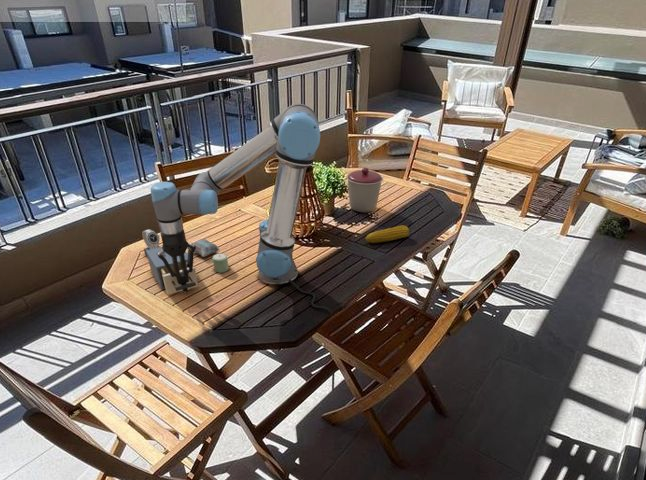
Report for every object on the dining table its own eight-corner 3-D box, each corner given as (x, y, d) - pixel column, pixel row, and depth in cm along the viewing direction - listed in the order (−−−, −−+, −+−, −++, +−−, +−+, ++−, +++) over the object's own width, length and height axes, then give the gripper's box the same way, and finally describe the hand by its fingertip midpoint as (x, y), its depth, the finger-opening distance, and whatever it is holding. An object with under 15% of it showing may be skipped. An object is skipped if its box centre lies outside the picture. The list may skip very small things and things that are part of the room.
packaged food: (203, 261, 182) (201, 250, 180) (186, 251, 189) (184, 241, 186) (221, 254, 188) (219, 243, 185) (204, 245, 194) (202, 234, 191)
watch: (153, 260, 182) (147, 236, 176) (143, 254, 186) (136, 230, 180) (166, 255, 186) (160, 231, 179) (155, 249, 190) (149, 225, 183)
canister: (381, 216, 222) (385, 174, 209) (345, 215, 222) (346, 173, 209) (379, 202, 237) (382, 162, 224) (345, 201, 236) (346, 161, 224)
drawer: (204, 294, 162) (200, 275, 158) (172, 303, 157) (168, 284, 153) (187, 270, 175) (183, 252, 171) (157, 277, 170) (152, 260, 165)
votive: (231, 269, 178) (229, 255, 175) (219, 274, 175) (217, 260, 171) (224, 264, 181) (222, 250, 178) (211, 268, 178) (209, 254, 175)
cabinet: (195, 280, 171) (190, 258, 165) (161, 289, 165) (156, 267, 160) (183, 263, 181) (178, 242, 175) (151, 272, 175) (145, 250, 169)
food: (403, 234, 207) (404, 222, 204) (409, 239, 203) (411, 227, 200) (363, 241, 200) (363, 229, 196) (368, 247, 196) (369, 235, 192)
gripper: (188, 221, 152) (199, 280, 166) (148, 230, 146) (163, 290, 160) (195, 230, 147) (206, 290, 161) (154, 239, 141) (169, 300, 155)
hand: (185, 290), depth 160 cm, fingers closed
